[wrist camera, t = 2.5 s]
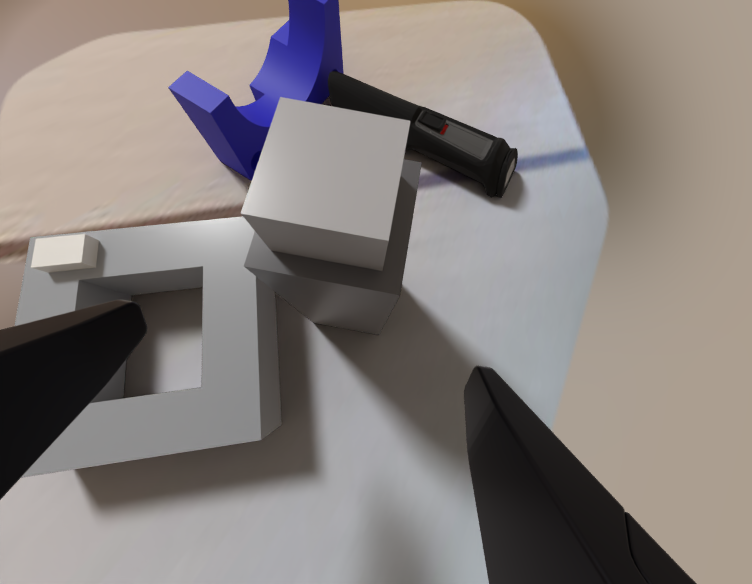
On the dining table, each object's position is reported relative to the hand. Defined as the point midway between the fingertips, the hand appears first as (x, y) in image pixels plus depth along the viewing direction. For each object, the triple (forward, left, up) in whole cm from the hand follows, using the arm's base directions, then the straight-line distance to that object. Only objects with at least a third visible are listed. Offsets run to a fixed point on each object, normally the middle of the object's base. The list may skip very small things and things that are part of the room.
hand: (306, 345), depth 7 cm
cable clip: (+20, -3, -11) cm, 23 cm away
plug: (+3, -2, -11) cm, 11 cm away
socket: (+5, +9, -11) cm, 15 cm away
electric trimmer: (+12, -12, -11) cm, 21 cm away
